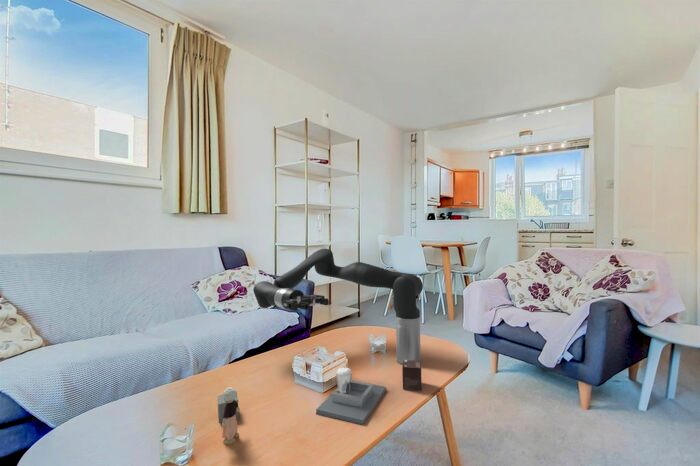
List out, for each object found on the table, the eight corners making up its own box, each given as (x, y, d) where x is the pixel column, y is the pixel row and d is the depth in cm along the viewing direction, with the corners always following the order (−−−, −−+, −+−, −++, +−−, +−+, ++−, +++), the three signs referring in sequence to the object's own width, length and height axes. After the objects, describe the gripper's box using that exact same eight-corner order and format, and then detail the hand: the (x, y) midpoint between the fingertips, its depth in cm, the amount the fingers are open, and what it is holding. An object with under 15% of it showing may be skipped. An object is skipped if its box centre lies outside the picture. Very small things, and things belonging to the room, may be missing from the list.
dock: (345, 382, 111) (345, 371, 111) (385, 390, 105) (385, 378, 105) (316, 413, 92) (316, 400, 92) (363, 424, 87) (362, 410, 87)
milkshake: (354, 395, 100) (354, 362, 100) (349, 404, 95) (348, 369, 95) (340, 393, 101) (340, 360, 101) (334, 401, 96) (333, 367, 96)
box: (421, 391, 104) (421, 368, 104) (402, 389, 105) (402, 366, 105) (421, 382, 110) (421, 360, 110) (403, 381, 111) (402, 359, 111)
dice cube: (236, 409, 96) (236, 392, 96) (238, 418, 91) (238, 399, 91) (217, 413, 93) (217, 395, 93) (218, 422, 89) (218, 404, 89)
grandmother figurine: (226, 430, 85) (225, 381, 85) (242, 429, 85) (241, 380, 85) (217, 450, 77) (216, 396, 77) (234, 449, 78) (233, 395, 78)
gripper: (272, 291, 116) (301, 296, 105) (304, 286, 127) (333, 289, 115) (273, 313, 116) (302, 320, 105) (304, 305, 127) (334, 311, 115)
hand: (318, 304), depth 110 cm, fingers open, 8 cm apart
